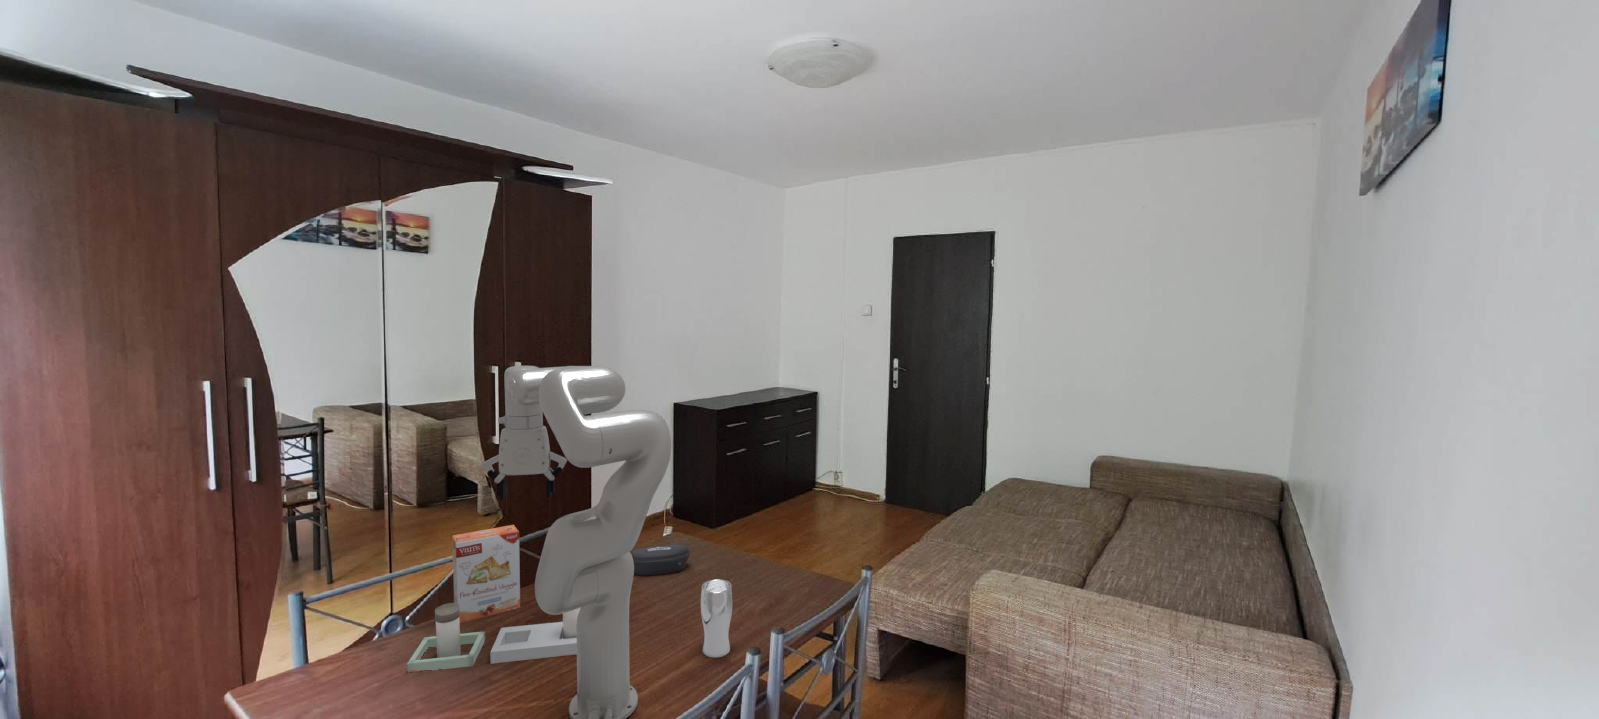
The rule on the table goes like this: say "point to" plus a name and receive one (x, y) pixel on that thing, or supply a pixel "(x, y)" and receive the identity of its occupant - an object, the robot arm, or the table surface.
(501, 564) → the cracker box
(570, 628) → the fuse
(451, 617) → the cylinder
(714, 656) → the beer glass
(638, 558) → the glasses case
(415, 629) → the table surface
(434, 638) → the green square frame
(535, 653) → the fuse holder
